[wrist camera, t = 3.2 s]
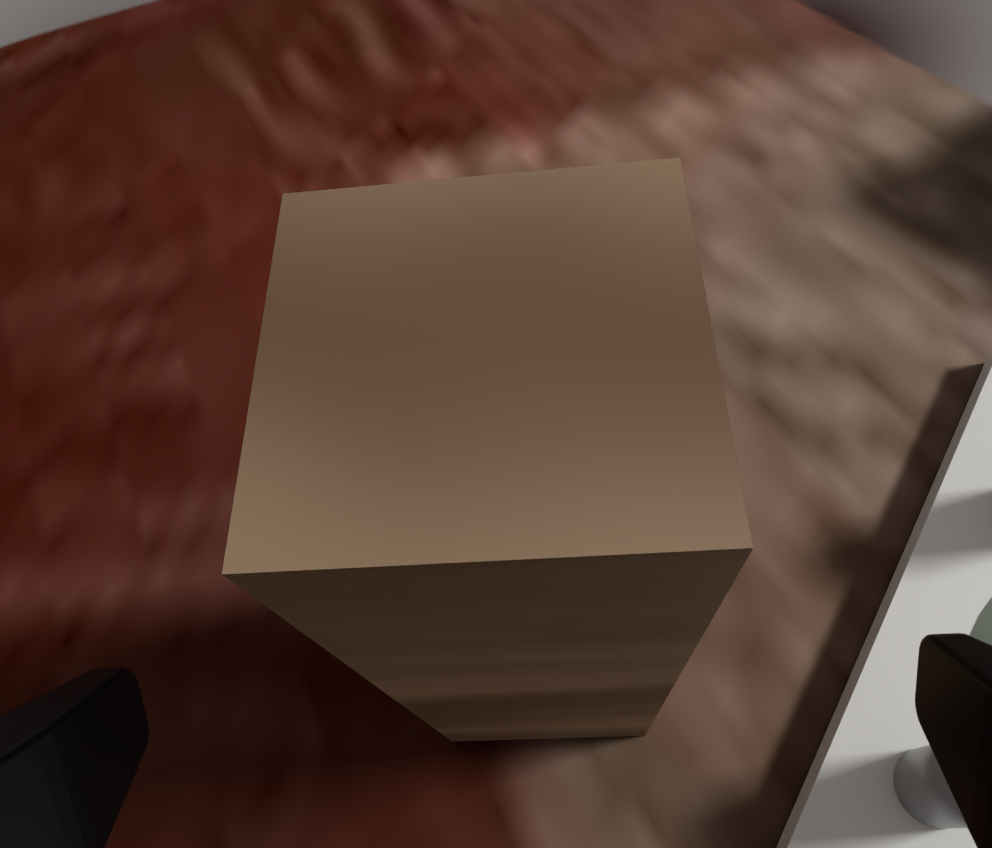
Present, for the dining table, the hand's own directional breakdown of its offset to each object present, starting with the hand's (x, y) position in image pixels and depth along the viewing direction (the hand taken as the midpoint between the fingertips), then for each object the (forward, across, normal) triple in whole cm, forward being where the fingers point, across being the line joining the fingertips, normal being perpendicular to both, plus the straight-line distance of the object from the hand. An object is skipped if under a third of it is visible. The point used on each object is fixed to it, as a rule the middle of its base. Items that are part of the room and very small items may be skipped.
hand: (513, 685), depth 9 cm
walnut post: (+9, 0, +5) cm, 11 cm away
